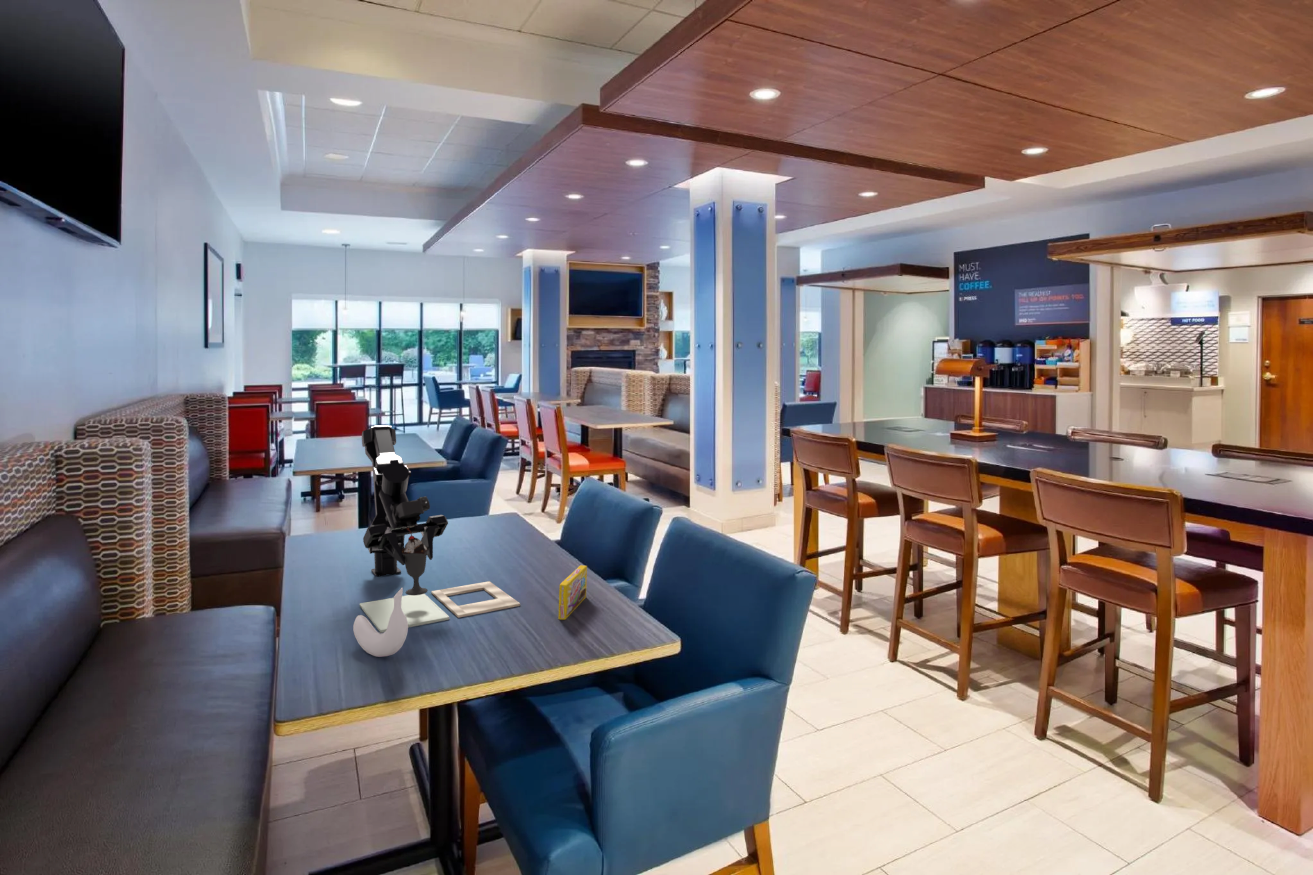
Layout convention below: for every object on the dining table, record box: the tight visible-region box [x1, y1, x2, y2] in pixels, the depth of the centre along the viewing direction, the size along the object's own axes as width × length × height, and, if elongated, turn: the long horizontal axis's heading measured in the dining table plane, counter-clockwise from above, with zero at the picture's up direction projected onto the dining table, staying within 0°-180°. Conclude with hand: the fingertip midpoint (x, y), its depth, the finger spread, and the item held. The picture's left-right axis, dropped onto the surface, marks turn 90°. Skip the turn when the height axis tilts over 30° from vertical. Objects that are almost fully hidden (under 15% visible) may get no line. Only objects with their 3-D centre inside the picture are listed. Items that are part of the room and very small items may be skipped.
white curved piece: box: [352, 587, 409, 658], centre depth 152 cm, size 5×19×15 cm, turn 52°
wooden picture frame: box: [430, 580, 521, 619], centre depth 185 cm, size 20×15×1 cm
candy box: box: [557, 564, 588, 621], centre depth 179 cm, size 16×2×8 cm, turn 168°
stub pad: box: [359, 593, 450, 634], centre depth 176 cm, size 20×15×1 cm
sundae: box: [401, 528, 430, 595], centre depth 176 cm, size 7×7×15 cm
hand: (417, 561), depth 175 cm, fingers closed on sundae, 6 cm apart
